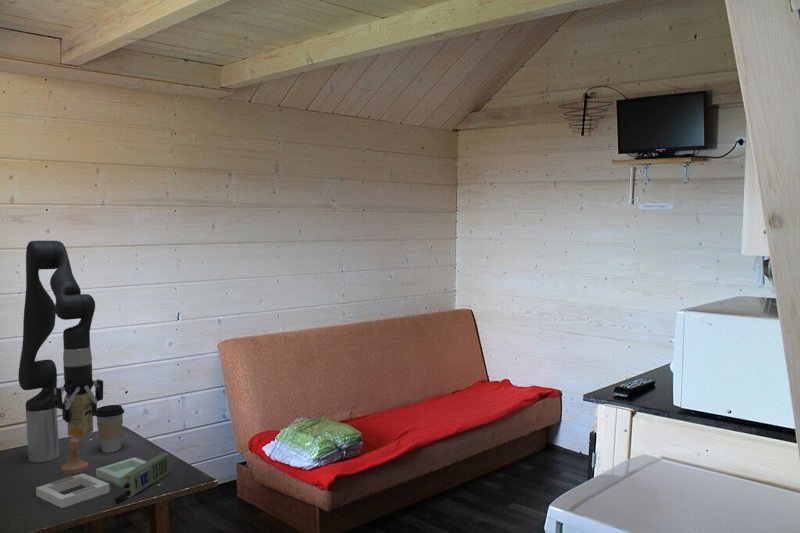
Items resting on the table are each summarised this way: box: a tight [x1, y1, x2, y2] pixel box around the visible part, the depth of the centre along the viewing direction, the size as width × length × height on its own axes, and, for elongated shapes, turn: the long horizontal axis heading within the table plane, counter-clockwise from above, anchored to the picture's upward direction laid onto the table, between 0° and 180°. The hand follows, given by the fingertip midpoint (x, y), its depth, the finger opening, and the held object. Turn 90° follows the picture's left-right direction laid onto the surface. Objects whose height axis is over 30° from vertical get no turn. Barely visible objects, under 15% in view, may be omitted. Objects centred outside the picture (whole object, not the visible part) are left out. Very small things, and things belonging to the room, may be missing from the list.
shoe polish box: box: [65, 393, 94, 437], centre depth 202 cm, size 5×5×12 cm
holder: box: [35, 473, 111, 509], centre depth 201 cm, size 15×14×3 cm
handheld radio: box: [114, 452, 170, 503], centre depth 205 cm, size 7×3×25 cm
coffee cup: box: [94, 404, 125, 454], centre depth 240 cm, size 9×9×15 cm
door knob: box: [60, 436, 90, 475], centre depth 222 cm, size 8×10×8 cm
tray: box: [95, 457, 147, 488], centre depth 215 cm, size 13×13×3 cm
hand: (80, 418), depth 203 cm, fingers closed on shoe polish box, 7 cm apart
